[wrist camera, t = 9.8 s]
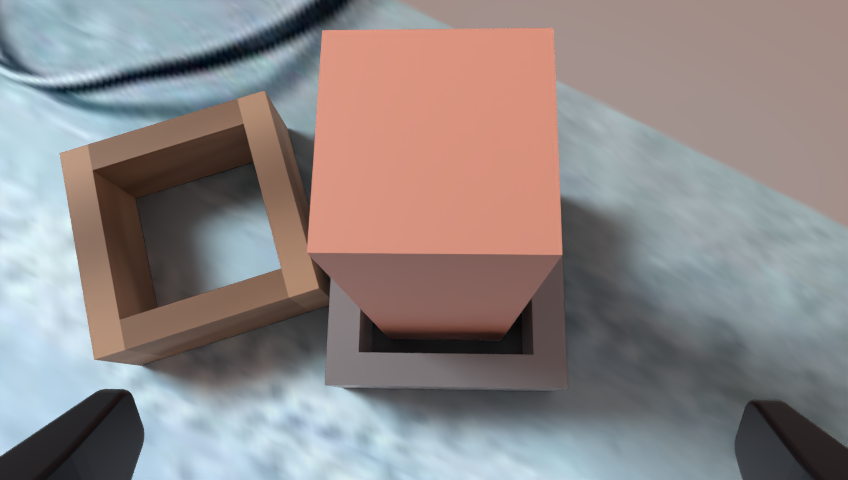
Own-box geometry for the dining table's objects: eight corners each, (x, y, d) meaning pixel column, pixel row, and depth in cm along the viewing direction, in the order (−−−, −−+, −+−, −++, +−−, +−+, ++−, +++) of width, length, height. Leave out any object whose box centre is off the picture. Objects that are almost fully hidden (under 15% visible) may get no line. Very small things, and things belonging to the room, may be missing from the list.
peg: (500, 340, 22) (562, 254, 10) (389, 339, 22) (306, 252, 10) (499, 232, 23) (553, 27, 11) (392, 231, 23) (322, 30, 11)
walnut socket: (335, 303, 23) (318, 288, 20) (140, 365, 22) (94, 359, 20) (286, 127, 25) (264, 90, 22) (106, 183, 24) (59, 153, 22)
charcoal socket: (552, 390, 22) (568, 388, 19) (341, 387, 22) (324, 385, 19) (545, 190, 24) (558, 159, 21) (351, 190, 24) (337, 160, 21)
